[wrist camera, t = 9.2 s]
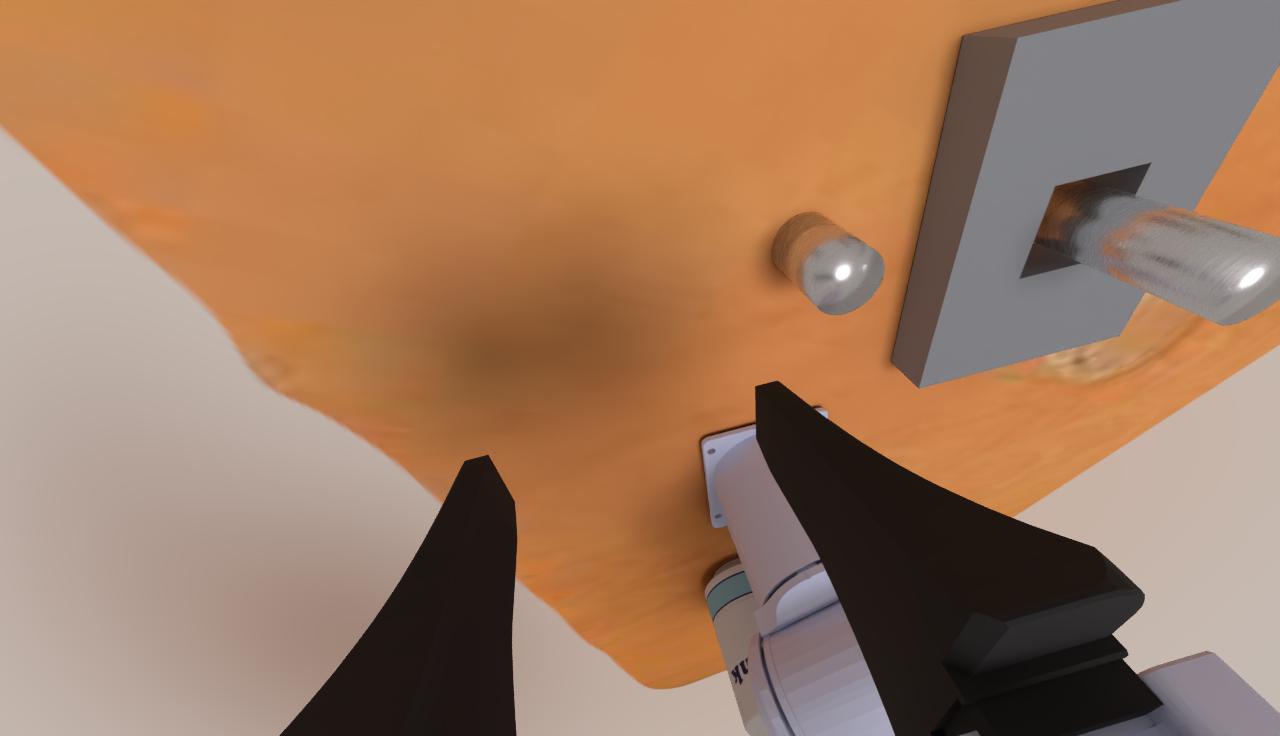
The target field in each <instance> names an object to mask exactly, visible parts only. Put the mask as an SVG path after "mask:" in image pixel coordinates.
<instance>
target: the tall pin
mask: <svg viewBox="0 0 1280 736" xmlns="http://www.w3.org/2000/svg"><path fill="white" fill-rule="evenodd" d="M1034 242H1035V243H1038V244H1040V245H1042V246H1044V247H1047V248H1049V249H1051V250H1053V251H1056V252H1058V253H1060V254H1062V255H1065V256H1067V257H1069V258H1071V259H1074V260H1076V261H1078V262H1080V263H1083V264H1085V265H1087V266H1089V267H1091V268H1094V269H1096V270H1098V271H1100V272H1103V273H1105V274H1107V275H1109V276H1112V277H1114V278H1116V279H1118V280H1121V281H1123V282H1125V283H1127V284H1130V285H1132V286H1134V287H1136V288H1139V289H1141V290H1143V291H1145V292H1147V293H1150V294H1152V295H1154V296H1156V297H1159V298H1161V299H1163V300H1165V301H1168V302H1170V303H1172V304H1174V305H1177V306H1179V307H1181V308H1183V309H1186V310H1188V311H1190V312H1192V313H1195V314H1197V315H1199V316H1201V317H1203V318H1206V319H1208V320H1210V321H1212V322H1215V323H1217V324H1219V325H1232V324H1236V323H1239V322H1242V321H1244V320H1247V319H1249V318H1251V317H1253V316H1255V315H1257V314H1258V313H1260V312H1262V311H1263V310H1265V309H1267V308H1268V307H1269V306H1271V305H1272V304H1274V303H1275V302H1276V301H1278V300H1279V299H1280V237H1277V236H1274V235H1270V234H1267V233H1263V232H1260V231H1257V230H1253V229H1250V228H1246V227H1243V226H1240V225H1236V224H1233V223H1229V222H1226V221H1223V220H1219V219H1216V218H1212V217H1209V216H1206V215H1202V214H1199V213H1195V212H1192V211H1189V210H1185V209H1182V208H1178V207H1175V206H1172V205H1168V204H1165V203H1161V202H1158V201H1155V200H1151V199H1148V198H1144V197H1141V196H1138V195H1134V194H1131V193H1127V192H1124V191H1121V190H1117V189H1114V188H1110V187H1107V186H1104V185H1100V184H1097V183H1093V182H1090V181H1087V180H1083V179H1082V180H1078V181H1074V182H1070V183H1066V184H1062V185H1058V186H1055V188H1054V191H1053V193H1052V196H1051V198H1050V201H1049V203H1048V206H1047V209H1046V211H1045V214H1044V216H1043V219H1042V222H1041V224H1040V227H1039V229H1038V232H1037V234H1036V237H1035V240H1034Z"/></svg>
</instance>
